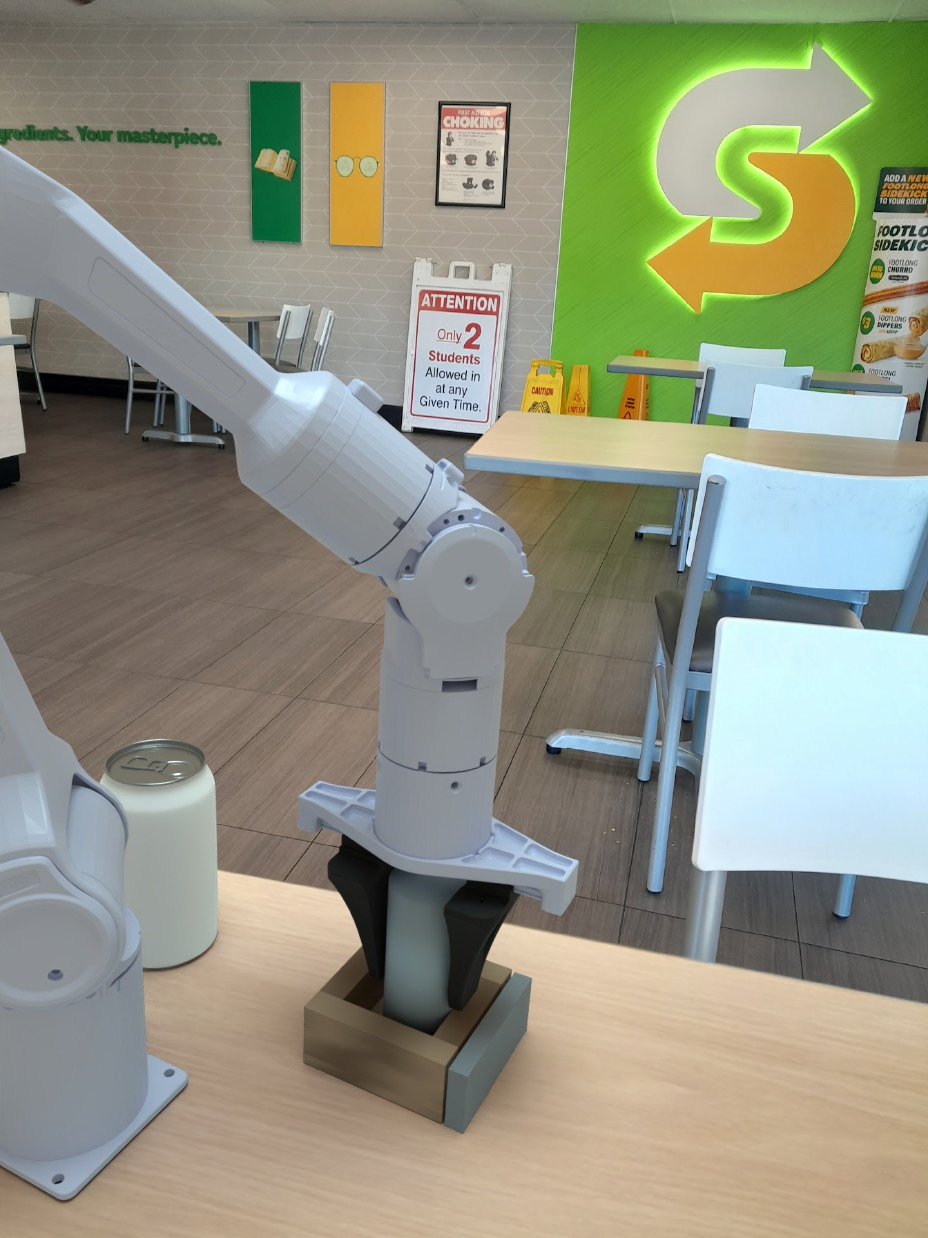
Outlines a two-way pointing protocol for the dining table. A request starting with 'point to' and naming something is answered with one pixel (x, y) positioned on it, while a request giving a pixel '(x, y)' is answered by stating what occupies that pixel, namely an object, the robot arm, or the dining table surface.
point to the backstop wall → (487, 1053)
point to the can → (168, 846)
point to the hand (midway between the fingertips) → (423, 982)
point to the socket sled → (390, 1037)
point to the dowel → (418, 950)
